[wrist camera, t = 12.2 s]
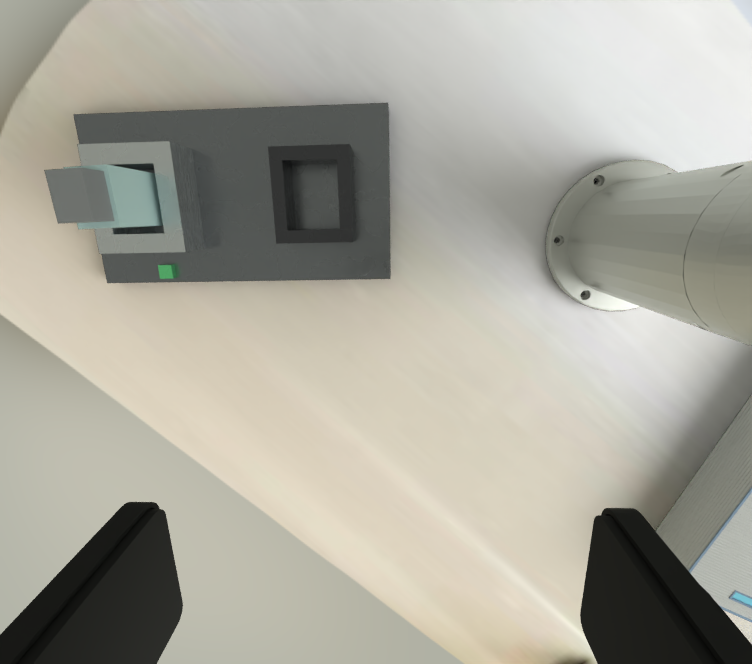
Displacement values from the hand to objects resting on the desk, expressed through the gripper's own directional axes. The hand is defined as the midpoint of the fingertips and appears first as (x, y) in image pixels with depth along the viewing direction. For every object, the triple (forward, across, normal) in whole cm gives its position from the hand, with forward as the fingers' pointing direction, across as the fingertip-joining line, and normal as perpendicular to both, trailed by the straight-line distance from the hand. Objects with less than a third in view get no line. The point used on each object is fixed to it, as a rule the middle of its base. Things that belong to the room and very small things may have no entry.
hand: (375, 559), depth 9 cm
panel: (+30, +13, -9) cm, 34 cm away
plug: (+29, +20, -9) cm, 36 cm away
